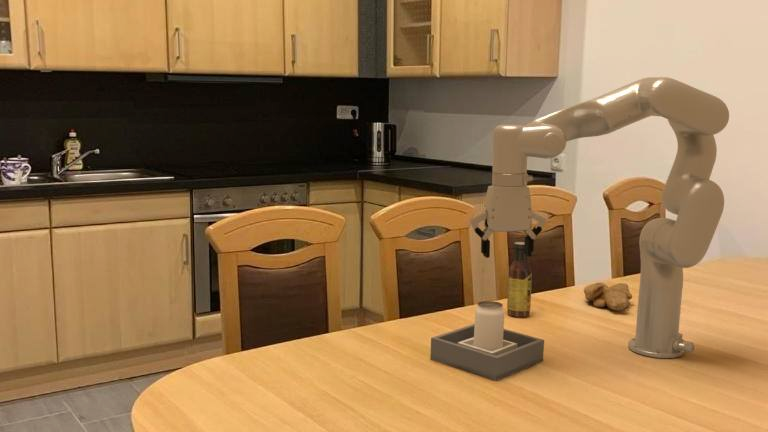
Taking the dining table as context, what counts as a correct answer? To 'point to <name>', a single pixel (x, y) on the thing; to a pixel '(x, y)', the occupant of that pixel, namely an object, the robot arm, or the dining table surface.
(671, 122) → the robot arm
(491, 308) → the can
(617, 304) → the ginger root
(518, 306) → the sauce bottle
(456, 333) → the box
